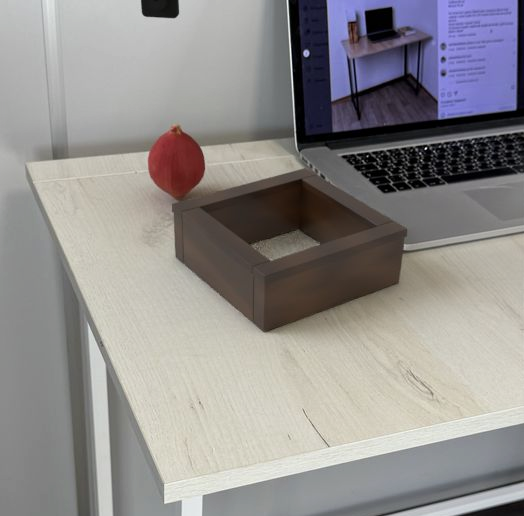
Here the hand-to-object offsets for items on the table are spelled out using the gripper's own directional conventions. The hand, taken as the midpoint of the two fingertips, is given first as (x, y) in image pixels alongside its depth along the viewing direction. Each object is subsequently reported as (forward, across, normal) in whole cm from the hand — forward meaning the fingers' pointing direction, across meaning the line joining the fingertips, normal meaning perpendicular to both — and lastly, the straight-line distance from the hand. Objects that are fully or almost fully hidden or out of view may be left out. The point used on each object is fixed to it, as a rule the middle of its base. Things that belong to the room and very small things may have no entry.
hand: (175, 2), depth 80 cm
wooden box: (+20, -12, -12) cm, 26 cm away
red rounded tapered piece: (+20, 0, +1) cm, 20 cm away
